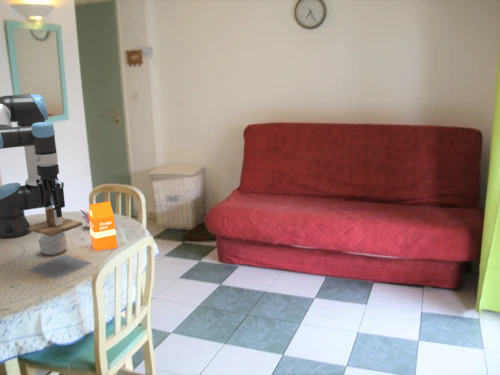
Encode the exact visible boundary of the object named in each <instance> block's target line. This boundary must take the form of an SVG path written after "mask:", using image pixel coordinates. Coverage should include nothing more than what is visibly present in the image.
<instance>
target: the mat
mask: <svg viewBox="0 0 500 375" xmlns="http://www.w3.org/2000/svg"><path fill="white" fill-rule="evenodd" d="M92 264H93V262H90V261H87V260H83V259H81V258H80V259H79V258H76V257H73V256H69V255H67V254H63V255H61V256H59V257H55V258H54V259H50V260H48V261H46V262H43V263H41V264H38V265H36V266H33V267H31V268H29V269H27V271H31V272H34V273H37V274H40V275H43V276H45V277H48V278H51V279H54V280H57V279H60V278H62V277H64V276H66V275H69V274H71V273H73V272H75V271H78V270H80V269H83V268H85V267H87V266H89V265H92Z"/></svg>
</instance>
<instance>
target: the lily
mask: <svg viewBox="0 0 500 375" xmlns="http://www.w3.org/2000/svg"><path fill="white" fill-rule="evenodd" d="M79 211H81V213H82V214H83V216H81V218H82V219H84V220H85V222H86V223H85V225H84V228H83V231H85V229H86V228H87V224H89V212H88V213H86V212H85V211H84V210H82V209H79Z"/></svg>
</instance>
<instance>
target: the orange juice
mask: <svg viewBox="0 0 500 375" xmlns="http://www.w3.org/2000/svg"><path fill="white" fill-rule="evenodd" d="M88 214H89V223H88V224H89V232H90V233H89V234H90V242H91V246H92V248H94V250H95V251H101V250H112V249H115V248H116V249H117V247H118V245H117V235H116V234H117V232H116V224H115V223H116V222H115V215H114V212H113V208H112V205H111V201H109V200H108V201H103V202H97V203H91V204H89V208H88Z"/></svg>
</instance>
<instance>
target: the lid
mask: <svg viewBox="0 0 500 375" xmlns="http://www.w3.org/2000/svg"><path fill="white" fill-rule="evenodd" d="M53 209H54V207H53V208H52V209H48V210H45V209H44V211H45V218H46V219H45V220H46V221H41V222H39V223H36V224H33V225H30V226H29V227H28V230H30V232H35V233H37V234H41V235H48V236H51V237H52V236H54V235H57V234H60V233H63V232H64V233H66V232H68V231H71V230H74V229H77V228H79V227H81V226H83V222H81V221H77V220H73V219H70V218H64V217H62V223H63V224H61V225H59V226H55V219H54V211H53Z"/></svg>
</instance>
